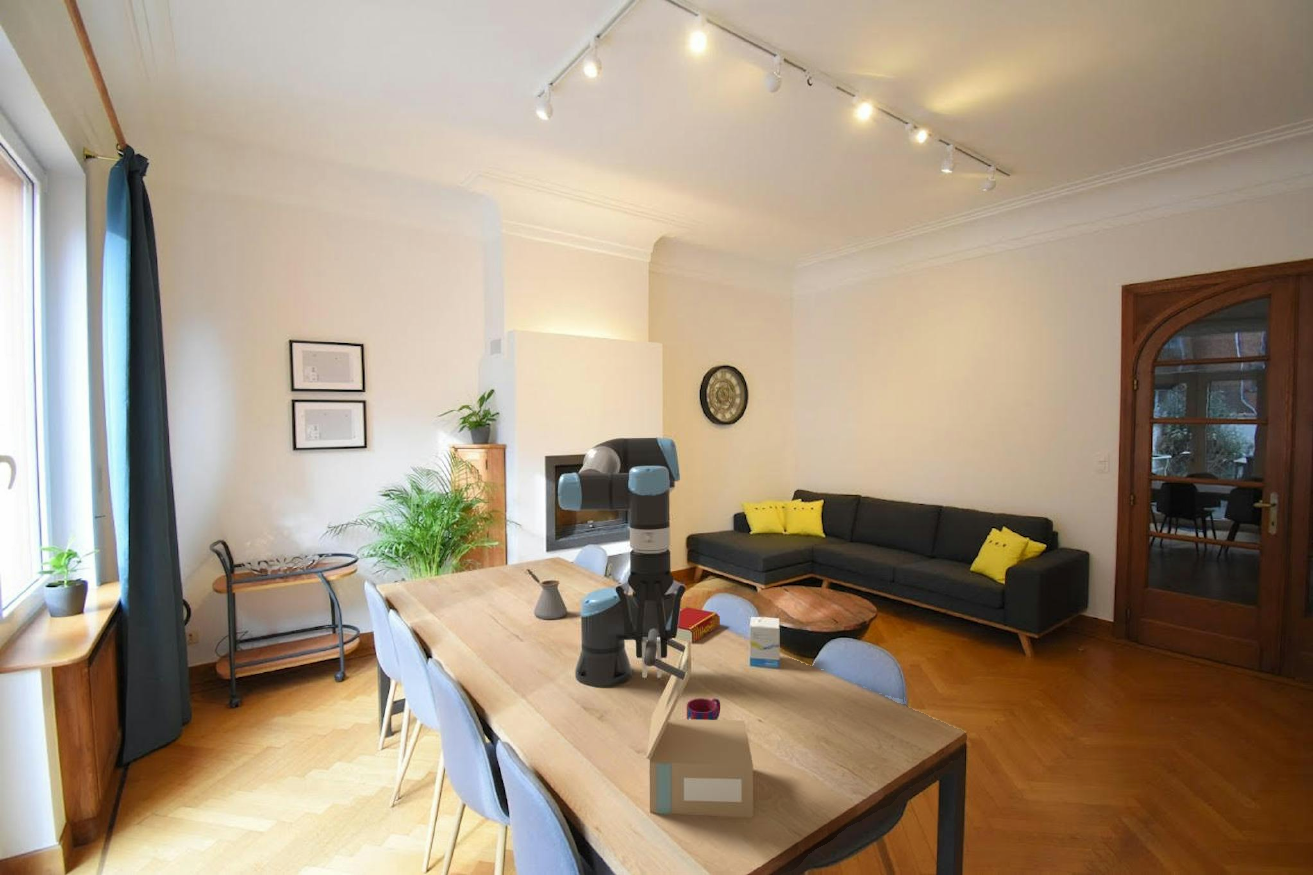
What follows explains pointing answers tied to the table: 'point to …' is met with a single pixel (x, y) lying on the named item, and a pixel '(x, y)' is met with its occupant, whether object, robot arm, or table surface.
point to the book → (696, 624)
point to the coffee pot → (549, 600)
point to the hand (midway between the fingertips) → (652, 674)
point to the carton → (702, 769)
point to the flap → (673, 686)
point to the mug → (703, 709)
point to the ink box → (764, 642)
